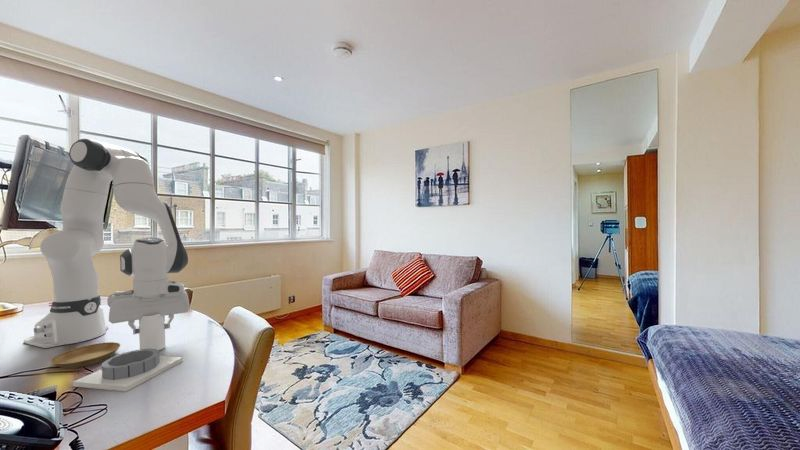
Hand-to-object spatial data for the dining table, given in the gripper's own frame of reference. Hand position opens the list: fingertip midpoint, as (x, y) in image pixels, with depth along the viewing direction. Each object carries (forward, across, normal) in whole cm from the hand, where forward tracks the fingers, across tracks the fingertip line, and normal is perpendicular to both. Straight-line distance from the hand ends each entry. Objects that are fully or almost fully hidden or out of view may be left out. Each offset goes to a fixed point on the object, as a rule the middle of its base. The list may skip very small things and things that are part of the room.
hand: (152, 330), depth 100 cm
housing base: (+6, -4, -16) cm, 18 cm away
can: (+6, 0, 0) cm, 6 cm away
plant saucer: (+7, -16, +3) cm, 17 cm away
